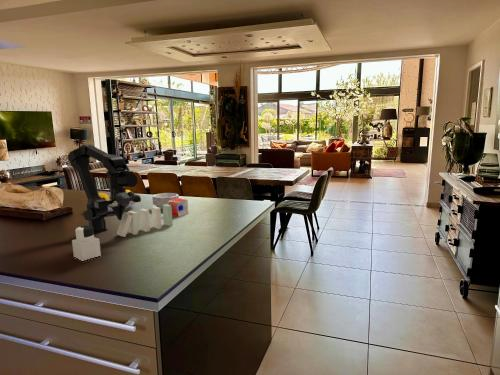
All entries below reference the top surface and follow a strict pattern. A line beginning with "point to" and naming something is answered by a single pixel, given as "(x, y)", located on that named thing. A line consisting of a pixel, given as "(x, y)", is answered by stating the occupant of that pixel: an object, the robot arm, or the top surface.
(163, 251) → the top surface
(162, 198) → the paper bowls
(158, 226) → the tile
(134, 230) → the tile
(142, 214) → the tile
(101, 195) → the fruit bowl
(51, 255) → the top surface
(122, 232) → the tile
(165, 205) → the tile
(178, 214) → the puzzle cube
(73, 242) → the white block with post
